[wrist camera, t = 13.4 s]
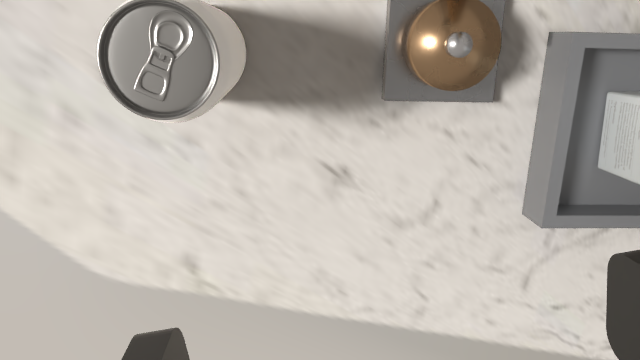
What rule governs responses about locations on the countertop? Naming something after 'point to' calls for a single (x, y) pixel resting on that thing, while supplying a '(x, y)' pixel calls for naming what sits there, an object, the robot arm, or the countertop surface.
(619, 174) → the skincare box
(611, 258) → the robot arm
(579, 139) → the tray
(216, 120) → the countertop surface
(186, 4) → the can
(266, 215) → the countertop surface
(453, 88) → the service bell
